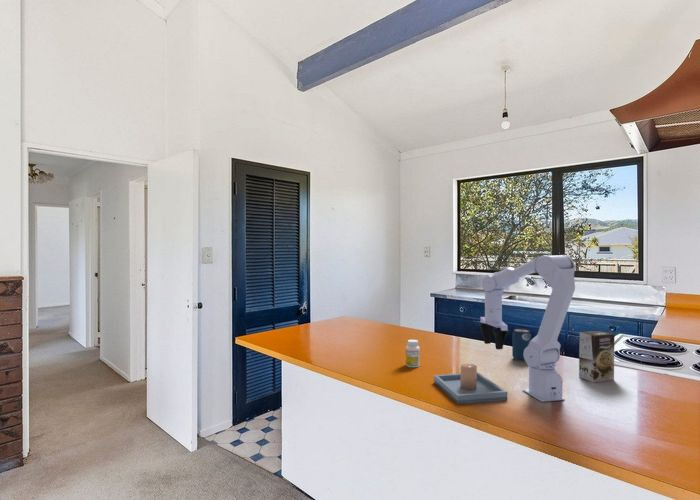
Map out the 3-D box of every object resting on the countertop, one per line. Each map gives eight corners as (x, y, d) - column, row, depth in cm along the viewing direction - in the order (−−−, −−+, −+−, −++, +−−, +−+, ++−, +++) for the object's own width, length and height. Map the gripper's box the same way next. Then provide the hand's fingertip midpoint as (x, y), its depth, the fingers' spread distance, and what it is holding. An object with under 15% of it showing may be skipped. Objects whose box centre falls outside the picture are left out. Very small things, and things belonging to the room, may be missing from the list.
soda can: (532, 362, 153) (533, 332, 153) (514, 361, 155) (514, 331, 155) (528, 357, 160) (528, 328, 160) (510, 356, 162) (510, 327, 161)
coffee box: (594, 383, 131) (594, 335, 130) (578, 376, 137) (578, 331, 137) (615, 380, 133) (615, 333, 133) (598, 374, 139) (598, 329, 139)
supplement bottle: (410, 362, 154) (410, 338, 154) (422, 365, 151) (422, 340, 151) (403, 365, 150) (403, 340, 150) (415, 368, 147) (415, 343, 147)
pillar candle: (479, 390, 122) (479, 368, 122) (464, 391, 122) (464, 369, 121) (471, 384, 127) (471, 363, 127) (457, 385, 126) (457, 364, 126)
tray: (507, 400, 117) (507, 391, 117) (457, 404, 114) (457, 395, 114) (477, 379, 135) (477, 372, 135) (434, 382, 132) (434, 375, 132)
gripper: (472, 305, 145) (472, 341, 145) (494, 312, 131) (494, 352, 131) (490, 305, 146) (490, 340, 147) (513, 311, 132) (512, 351, 132)
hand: (493, 346), depth 139 cm, fingers open, 7 cm apart
